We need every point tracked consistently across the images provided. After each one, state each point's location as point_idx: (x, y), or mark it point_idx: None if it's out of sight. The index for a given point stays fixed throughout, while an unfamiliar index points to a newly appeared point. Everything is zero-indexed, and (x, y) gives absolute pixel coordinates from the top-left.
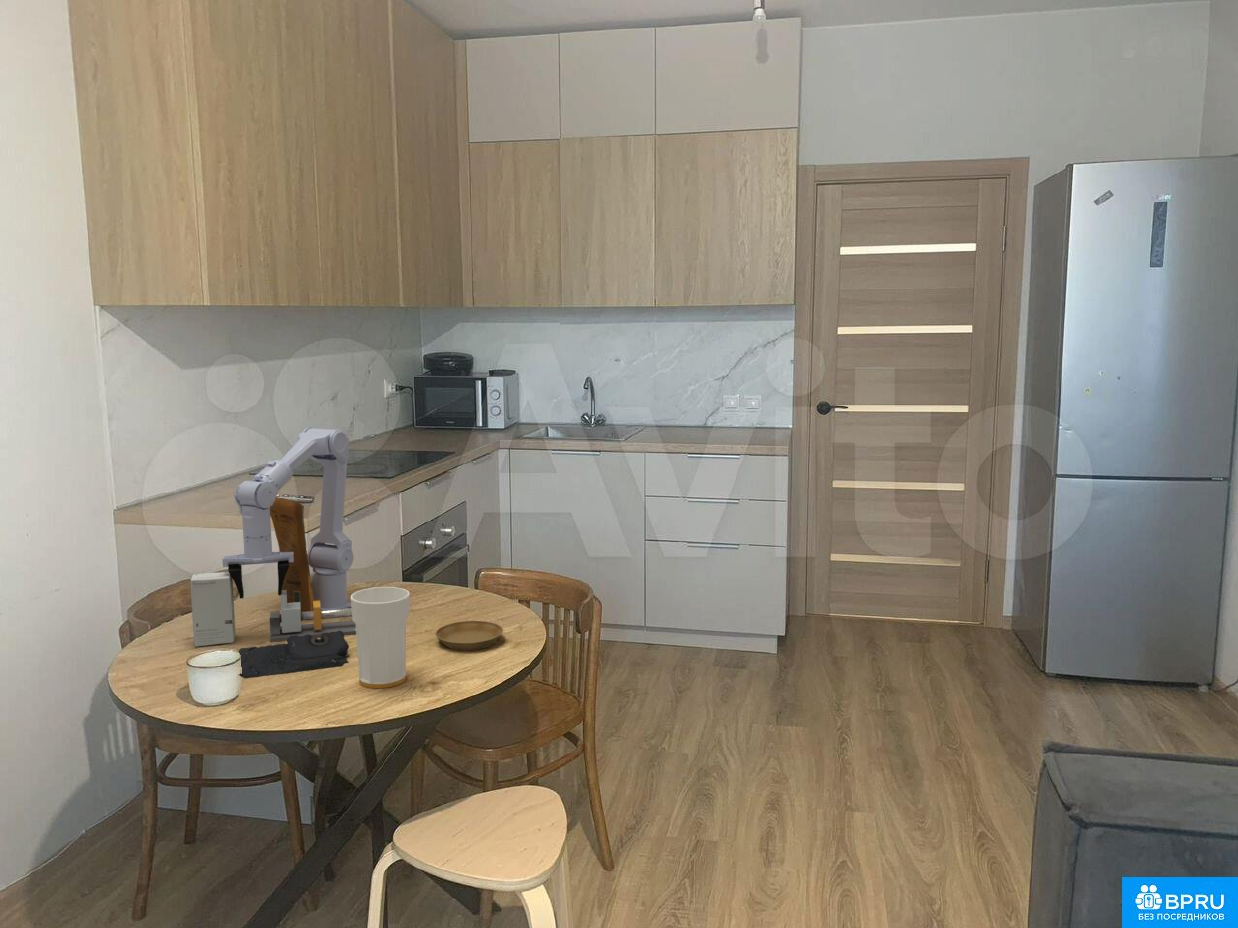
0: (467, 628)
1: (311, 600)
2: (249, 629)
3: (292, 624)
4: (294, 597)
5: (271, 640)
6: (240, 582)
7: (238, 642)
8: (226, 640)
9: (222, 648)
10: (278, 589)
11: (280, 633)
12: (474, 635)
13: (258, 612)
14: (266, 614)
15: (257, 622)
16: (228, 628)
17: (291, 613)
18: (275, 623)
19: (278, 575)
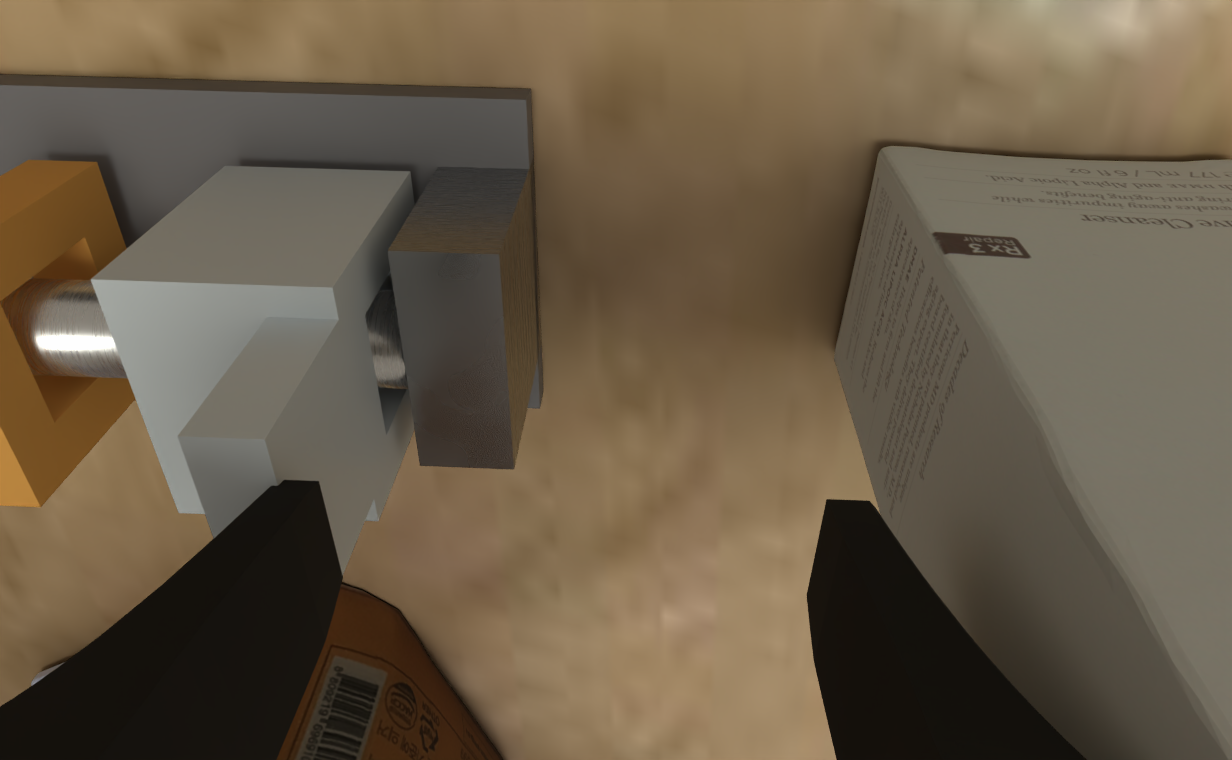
0: None
1: None
2: (713, 464)
3: (277, 200)
4: (361, 741)
5: (518, 92)
6: (932, 706)
7: (825, 180)
8: (950, 160)
9: (996, 43)
10: (266, 534)
11: None
12: None
13: (647, 725)
14: (597, 686)
15: (653, 577)
16: (962, 208)
17: (226, 255)
18: (449, 221)
19: (95, 751)
